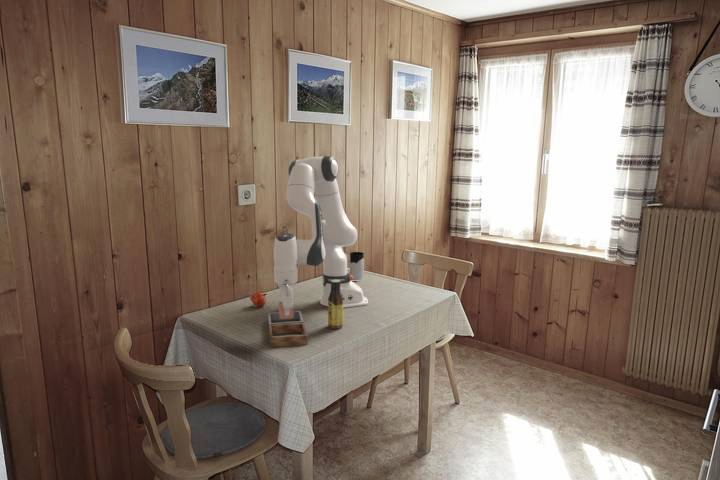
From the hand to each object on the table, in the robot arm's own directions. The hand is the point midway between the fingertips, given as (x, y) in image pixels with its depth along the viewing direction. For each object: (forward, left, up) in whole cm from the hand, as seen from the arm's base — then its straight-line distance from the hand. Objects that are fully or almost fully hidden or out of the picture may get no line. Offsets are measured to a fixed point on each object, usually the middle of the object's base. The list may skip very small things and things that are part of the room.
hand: (286, 312), depth 192 cm
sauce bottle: (-20, -9, -11) cm, 25 cm away
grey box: (0, -15, -11) cm, 18 cm away
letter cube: (0, 0, -2) cm, 2 cm away
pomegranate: (+11, -41, -11) cm, 44 cm away
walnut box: (0, 0, -11) cm, 11 cm away
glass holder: (-41, -81, -11) cm, 92 cm away
